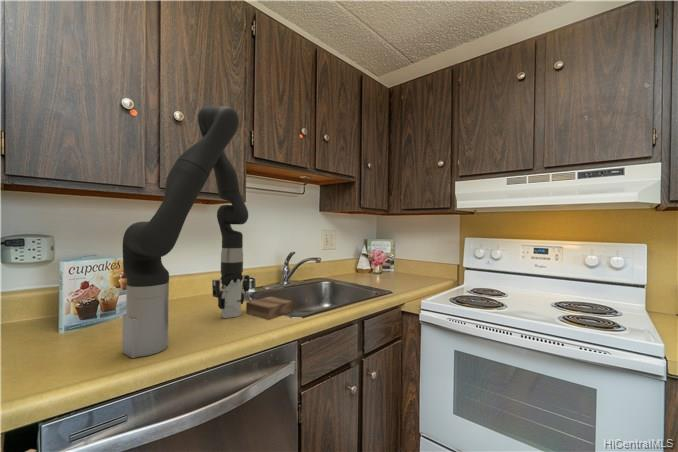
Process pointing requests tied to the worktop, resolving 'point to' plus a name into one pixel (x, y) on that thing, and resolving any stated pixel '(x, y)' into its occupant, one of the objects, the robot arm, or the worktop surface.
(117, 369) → the worktop surface
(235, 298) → the skincare box
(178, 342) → the worktop surface
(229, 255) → the robot arm
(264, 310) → the walnut plinth
